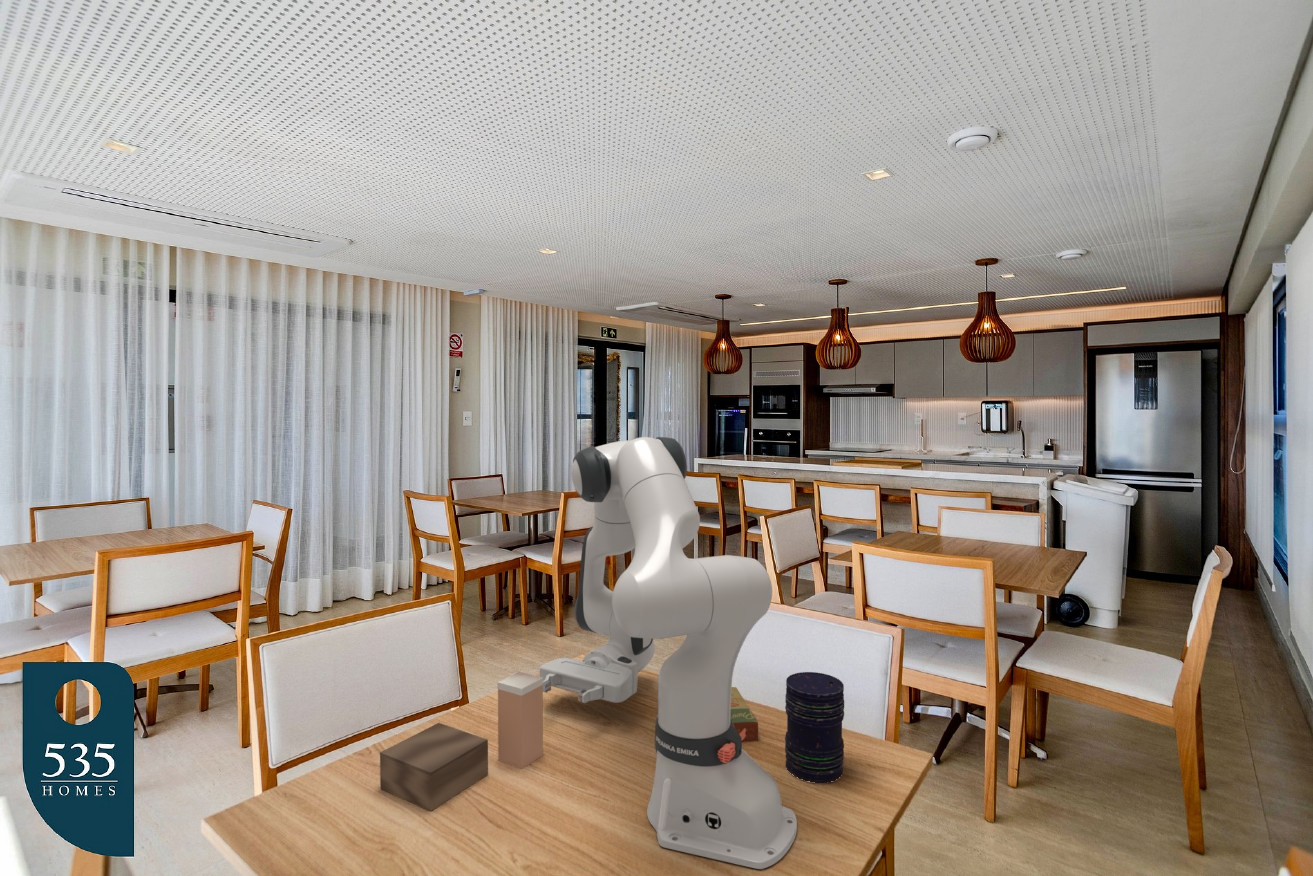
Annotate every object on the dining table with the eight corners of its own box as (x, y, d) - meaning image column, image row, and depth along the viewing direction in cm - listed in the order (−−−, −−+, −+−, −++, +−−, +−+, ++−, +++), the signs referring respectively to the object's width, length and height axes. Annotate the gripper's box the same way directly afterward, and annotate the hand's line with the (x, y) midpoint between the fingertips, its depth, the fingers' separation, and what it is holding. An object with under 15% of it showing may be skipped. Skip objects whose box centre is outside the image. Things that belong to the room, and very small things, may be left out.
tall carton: (543, 754, 117) (543, 677, 116) (522, 769, 112) (521, 688, 112) (519, 747, 120) (519, 671, 119) (497, 760, 115) (497, 682, 114)
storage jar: (791, 784, 107) (792, 695, 107) (779, 754, 117) (780, 671, 117) (851, 784, 108) (852, 694, 107) (834, 753, 117) (835, 671, 117)
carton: (737, 705, 138) (737, 685, 138) (759, 743, 122) (759, 720, 122) (698, 707, 137) (698, 687, 137) (715, 745, 121) (716, 722, 121)
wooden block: (488, 774, 110) (487, 739, 110) (431, 811, 100) (430, 772, 100) (438, 756, 116) (438, 722, 116) (380, 788, 106) (380, 752, 106)
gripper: (563, 646, 142) (520, 666, 131) (643, 663, 132) (604, 687, 120) (563, 674, 143) (520, 697, 131) (643, 694, 132) (604, 721, 120)
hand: (561, 693), depth 125 cm, fingers open, 8 cm apart
